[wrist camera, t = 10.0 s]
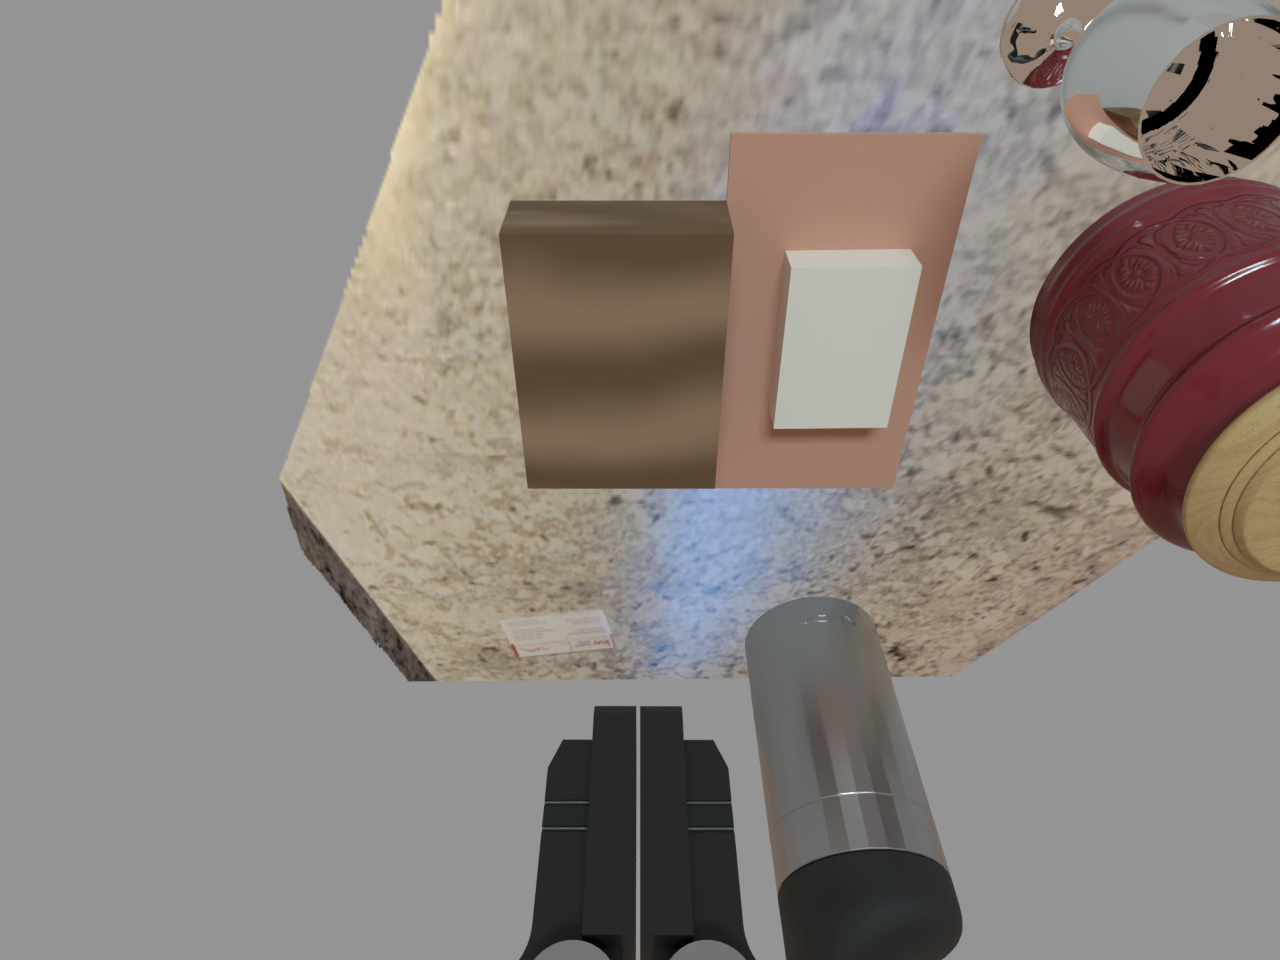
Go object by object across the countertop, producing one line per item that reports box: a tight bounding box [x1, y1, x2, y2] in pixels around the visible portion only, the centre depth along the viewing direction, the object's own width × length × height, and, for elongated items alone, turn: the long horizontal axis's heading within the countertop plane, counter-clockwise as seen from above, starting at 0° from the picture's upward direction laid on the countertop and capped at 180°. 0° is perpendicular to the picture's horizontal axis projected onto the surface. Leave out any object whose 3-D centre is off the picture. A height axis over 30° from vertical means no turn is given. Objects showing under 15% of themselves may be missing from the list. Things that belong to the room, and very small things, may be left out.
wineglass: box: [999, 0, 1280, 185], centre depth 28 cm, size 6×6×12 cm
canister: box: [1030, 176, 1280, 582], centre depth 33 cm, size 13×13×18 cm
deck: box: [499, 201, 734, 489], centre depth 40 cm, size 14×10×4 cm
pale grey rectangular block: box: [769, 249, 922, 429], centre depth 40 cm, size 9×6×2 cm, turn 1°
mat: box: [715, 132, 983, 488], centre depth 41 cm, size 20×11×1 cm, turn 0°
